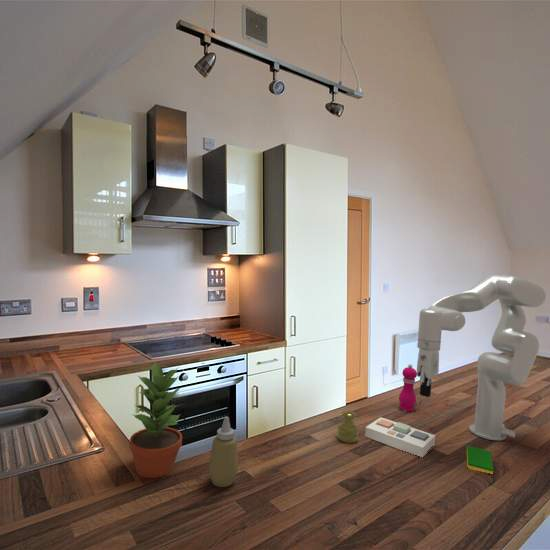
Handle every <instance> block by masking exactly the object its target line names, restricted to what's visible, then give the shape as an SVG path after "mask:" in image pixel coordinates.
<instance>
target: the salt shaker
mask: <svg viewBox="0 0 550 550" xmlns="http://www.w3.org/2000/svg"><path fill="white" fill-rule="evenodd" d="M342 417H344V420H342V421H341V422H339V423H338V424H337V431H336V433H337V434H336V438H337V439H338V440H339V441H341V442H343V443H348V444H353V443H357V442H358V439H359V432H360V431H359V430H360V429H359V426H358V425H357V424H356V423H355V422H354V421H353V420H354V419H355V418H357V414H356V413H355V412H353V410H350V409H349V410H345V411H342Z"/></svg>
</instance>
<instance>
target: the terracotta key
mask: <svg viewBox="0 0 550 550" xmlns="http://www.w3.org/2000/svg"><path fill="white" fill-rule="evenodd" d="M393 424H394V423H392V422H389V421H386V420H383V419H381V420H380V421H378V422H377V425H380V426H382V427H385V428H388V429H389V428H391V427H392V426H393Z"/></svg>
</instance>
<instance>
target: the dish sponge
mask: <svg viewBox="0 0 550 550" xmlns="http://www.w3.org/2000/svg"><path fill="white" fill-rule="evenodd" d="M492 459H493V458H492V452H491V451H490V450H486V449H482V448H479V447H474V446H470V445H467V446H466V465H467V466H466V468H467V467H468V468H470V469H473V470H478V471H481V472H486V473H490V474H493V475H494V465H493V460H492Z"/></svg>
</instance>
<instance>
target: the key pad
mask: <svg viewBox="0 0 550 550" xmlns="http://www.w3.org/2000/svg"><path fill="white" fill-rule="evenodd" d="M381 419H383V420H386V421H389V422H392V423H394V424H393V426H394V425H395V424H397V423H398V422H396V421H393V420H391V419H387V418H384V417H379V418H377V419H376V420H374V421H373V422H372V423H370V424H368V425H367V426H365V431H364V437H365V438H368V439H370V440H373V441H376V442H379V443H382V444H384V445H387V446H389V447H392V448H394V449H397V450H400V451H402V450H403V452H405V451H406V452H405V453H407V452H409V453H408V454H410V453H411V455H413V454H414V455H413V456H415V455H417V456H416V457H418V456H420V457H419V458H421V457H422V458H423V457H425V455H427V453H428V452H429V451H430V450H431V449H432V448H433V447H434V446H435V445H436V444H435V443H436V435H435V434H432V433H430V432H426V431H423V430H420V429H417V428H415V427H411V430H410V432H409V433H408V434H407V435H405V434H403V433H400V432H397V431H394V430H393V426H392V427H391V428H389V429H388V428H385V427H382V426H380V425H377V422H378V421H380V420H381ZM415 430H416V431H419V432H422V433H425V434H428V439H427V440H425V441H423V440H420V439H417V438H414V437H411V434H412V433H413V432H414V431H415ZM432 446H433V447H432ZM431 447H432V448H431ZM430 448H431V449H430ZM429 449H430V450H429ZM428 450H429V451H428ZM427 451H428V452H427Z"/></svg>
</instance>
